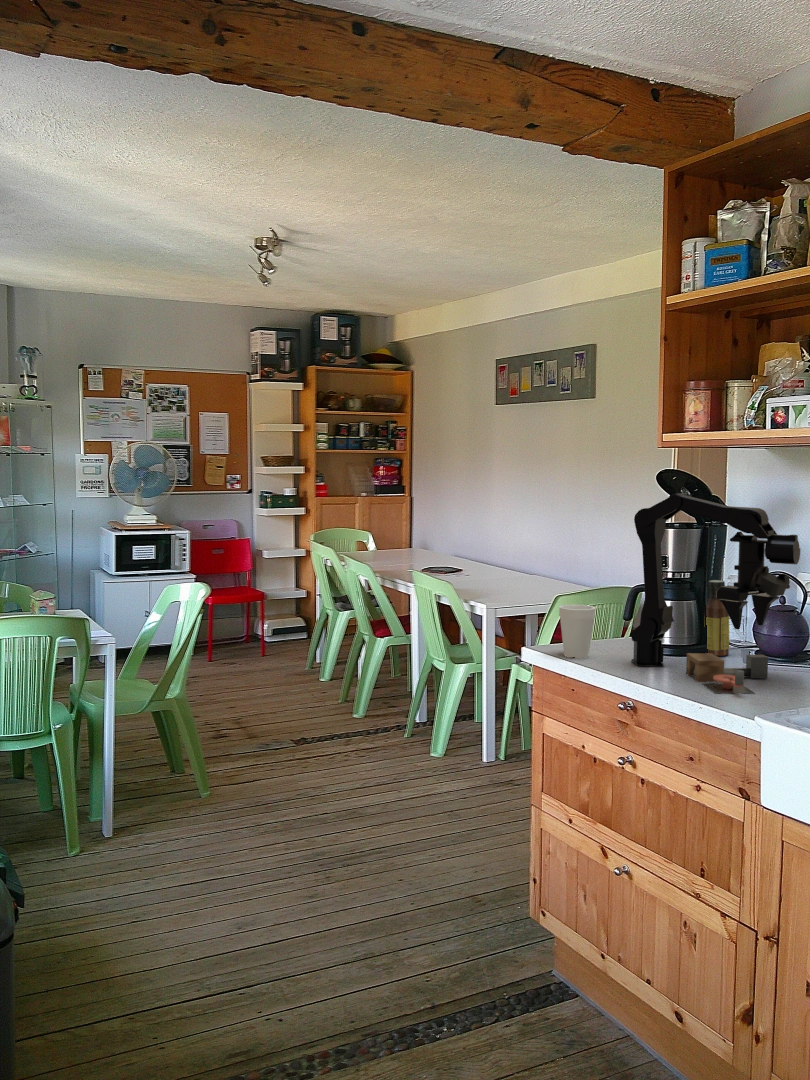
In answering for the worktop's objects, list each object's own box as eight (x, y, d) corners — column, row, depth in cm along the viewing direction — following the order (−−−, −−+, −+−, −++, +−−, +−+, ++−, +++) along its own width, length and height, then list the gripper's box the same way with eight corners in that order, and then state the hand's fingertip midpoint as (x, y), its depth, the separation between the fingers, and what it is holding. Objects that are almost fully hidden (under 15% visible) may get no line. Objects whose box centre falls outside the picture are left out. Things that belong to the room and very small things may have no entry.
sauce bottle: (725, 652, 252) (728, 579, 250) (731, 657, 246) (734, 582, 244) (700, 651, 252) (703, 579, 251) (706, 656, 246) (708, 582, 245)
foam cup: (572, 660, 240) (573, 611, 239) (551, 654, 248) (552, 605, 247) (601, 657, 244) (602, 608, 243) (579, 651, 252) (580, 603, 251)
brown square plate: (715, 693, 206) (715, 692, 206) (701, 684, 215) (701, 683, 215) (755, 693, 206) (755, 692, 206) (739, 684, 215) (739, 683, 215)
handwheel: (708, 684, 214) (709, 661, 213) (736, 684, 214) (737, 661, 214) (725, 695, 203) (726, 671, 203) (754, 695, 204) (755, 671, 203)
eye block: (698, 681, 217) (698, 660, 217) (686, 673, 226) (686, 653, 226) (723, 681, 218) (724, 660, 217) (710, 673, 226) (711, 653, 226)
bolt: (696, 678, 220) (696, 657, 220) (692, 675, 223) (692, 654, 223) (767, 678, 221) (768, 657, 220) (762, 675, 224) (763, 654, 223)
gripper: (758, 567, 207) (756, 636, 208) (805, 562, 218) (802, 628, 219) (715, 562, 216) (713, 629, 217) (762, 558, 227) (760, 621, 228)
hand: (748, 627), depth 220 cm, fingers open, 9 cm apart
